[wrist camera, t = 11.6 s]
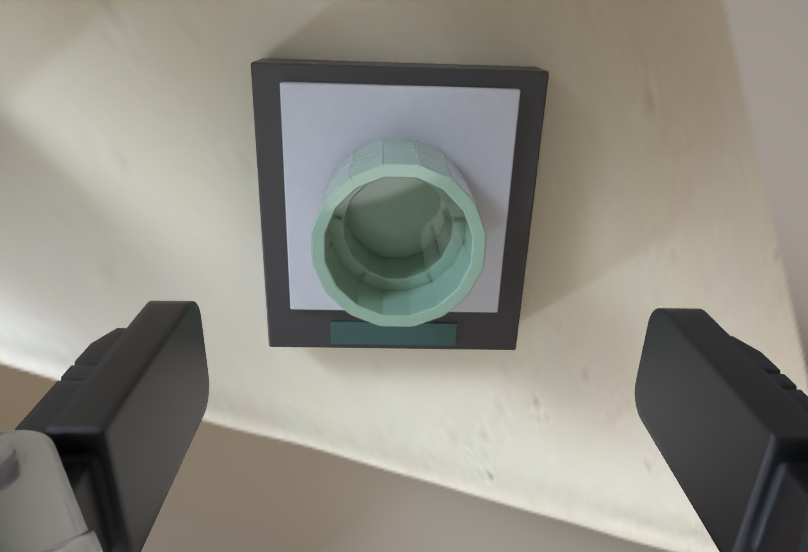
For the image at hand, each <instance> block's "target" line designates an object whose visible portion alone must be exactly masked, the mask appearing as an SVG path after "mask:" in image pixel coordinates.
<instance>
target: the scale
mask: <svg viewBox="0 0 808 552" xmlns="http://www.w3.org/2000/svg"><path fill="white" fill-rule="evenodd" d="M251 75H252V90H253V105H254V121H255V136H256V152H257V167H258V183H259V198H260V213H261V229H262V244H263V260H264V275H265V290H266V306H267V321H268V337H269V346H270V347H332V348H408V349H483V350H515V349H516V342H517V334H518V326H519V317H520V309H521V301H522V292H523V284H524V276H525V267H526V259H527V251H528V242H529V234H530V226H531V217H532V209H533V201H534V193H535V184H536V176H537V168H538V159H539V151H540V143H541V134H542V126H543V118H544V109H545V101H546V93H547V84H548V76H549V73H548V72H547V71H545V70H542V69H540V68H537V67H518V66H486V65H454V64H422V63H390V62H358V61H326V60H294V59H260V60H257V61H255V62H252V63H251ZM384 138H408V139H414V140H418V141H420V142H422V143H424V144H427V145H429V146H431V147H433V148H436V149H438V150H440V151H441V152H443V153H444V154H445V155H446V156H447V157H448V159H449V160H450V161H451V162H452V163H453V164H454V165H455V166H456V167H457V168H458V169H459V171H460V172H461V174H462V175H463V177H464V179H465V181H466V184H467V186H468V188H469V190H470V192H471V194H472V196H473V198H474V200H475V203H476V205H477V207H478V210H479V213H480V216H481V219H482V222H483V225H484V228H485V231H486V236H487V239H486V249H485V260H484V266H483V270H482V272H481V273H480V275H479V277H478V279H477V281H476V283H475V284H474V286H473V288H472V290H471V292H470V294H469V295H468V296H467V297H466V298H465V299H464V300H462V301H461V302H460V303H459V304H457V305H456V306H455V307H454V308H453V309H451V310H450V311H449V312H448V313H447V314H445V315H443V316H442V317H440V318H437V319H434V320H431V321H428V322H425V323H422V324H419V325H416V326H412V327H395V326H378V325H375V324H373V323H370V322H367V321H365V320H362V319H360V318H357V317H354V316H352V315H350V314H349V313H347V312H346V311H345V310H344V309H343V308H342V307H341V306H340V305H339V304H337V303H336V302H335V301H334V300H333V299H332V298H331V297H330V296H329V295H327V293H326V292H325V291H324V288H323V286H322V284H321V282H320V280H319V278H318V276H317V274H316V272H315V270H314V267H313V265H312V264H313V263H312V256H311V229H312V226H313V223H314V220H315V217H316V215H317V212H318V209H319V206H320V203H321V200H322V197H323V194H324V192H325V189H326V187H327V184H328V182H329V180H330V177H331V175H332V172H333V170H334V169H335V168H336V167H337V166H338V165H339V164H340V163H341V162H342V161H343V160H344V159H345V158H346V157H347V156H348V155H349V154H350V153H351V152H352V151H353V150H356V149H357V148H359V147H361V146H364V145H366V144H369V143H372V142H374V141H377V140H379V139H384Z"/></svg>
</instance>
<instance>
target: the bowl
mask: <svg viewBox="0 0 808 552" xmlns="http://www.w3.org/2000/svg"><path fill="white" fill-rule="evenodd" d="M486 239H487V236H486V231H485V228H484V225H483V222H482V219H481V216H480V213H479V210H478V207H477V205H476V203H475V200H474V198H473V196H472V194H471V192H470V190H469V188H468V186H467V184H466V181H465V179H464V177H463V175H462V174H461V172H460V171H459V169H458V168H457V167H456V166H455V165H454V164H453V163H452V162H451V161H450V160H449V159H448V157H447V156H446V155H445V154H444V153H443V152H441V151H440V150H438V149H436V148H433V147H431V146H429V145H427V144H424V143H422V142H420V141H418V140H414V139H408V138H384V139H379V140H377V141H374V142H372V143H369V144H366V145H364V146H361V147H359V148H357V149H356V150H353V151H352V152H351V153H350V154H349V155H348V156H347V157H346V158H345V159H344V160H343V161H342V162H341V163H340V164H339V165H338V166H337V167H336V168H335V169H334V170H333V172H332V175H331V177H330V180H329V182H328V184H327V187H326V189H325V192H324V194H323V197H322V200H321V203H320V206H319V209H318V212H317V215H316V217H315V220H314V223H313V226H312V229H311V256H312V263H313V264H312V265H313V267H314V270H315V272H316V274H317V276H318V278H319V280H320V282H321V284H322V286H323V288H324V291H325V292H326V293H327V295H329V296H330V297H331V298H332V299H333V300H334V301H335V302H336V303H337V304H339V305H340V306H341V307H342V308H343V309H344V310H345V311H346V312H347V313H349V314H350V315H352V316H354V317H357V318H360V319H362V320H365V321H367V322H370V323H373V324H375V325H378V326H395V327H412V326H416V325H419V324H422V323H425V322H428V321H431V320H434V319H437V318H440V317H442V316H443V315H445V314H447V313H448V312H449V311H450V310H451V309H453V308H454V307H455V306H456V305H457V304H459V303H460V302H461V301H462V300H464V299H465V298H466V297H467V296H468V295H469V294H470V292H471V290H472V288H473V286H474V284H475V283H476V281H477V279H478V277H479V275H480V273H481V272H482V270H483V266H484V260H485V249H486Z"/></svg>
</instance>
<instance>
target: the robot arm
mask: <svg viewBox="0 0 808 552" xmlns="http://www.w3.org/2000/svg"><path fill="white" fill-rule="evenodd" d="M208 395H209V375H208V368H207V360H206V352H205V344H204V337H203V329H202V321H201V314H200V310H199V307H198V305H197V303H196V302H194V301H150V302H148V303H147V304H146V305H145V307H144V308H143V309H142V310H141V311H140V313H139V314H138V315H137V316H136V317H135V319H134V320H133V321H132V322H131V324H130V325H129V326H128V327H127V328H117V329H115V330H113V331H111V332H110V333H108V334H106V335H105V336H103V337H101V338H100V339H98V340H96V341H94V342H93V343H91V344H90V345H89V346H88V348H87V349H86V350H85V351H84V352H83V353H82V354H81V355H80V357H79V358H78V359H77V360H76V361H75V365H72V366H71V367H70V368H69V369H68V370H67V371H66V372H65V373H64V375H63V376H62V377H61V381H57V382H56V384H55V385H54V386H53V387H52V388H51V389H50V390H49V391H48V393H47V394H46V395H45V396H44V397H43V398H42V399H41V400H40V402H39V403H38V404H37V405H36V406H35V407H34V408H33V410H32V411H31V412H30V413H29V414H28V415H27V416H26V417H25V418H24V420H23V421H22V422H21V423H20V424H19V425H18V426H17V428H16V429H15V430H11V431H3V432H0V552H141V550H142V548H143V546H144V544H145V541H146V539H147V537H148V535H149V533H150V531H151V528H152V526H153V524H154V522H155V519H156V517H157V515H158V513H159V511H160V509H161V507H162V504H163V502H164V500H165V498H166V496H167V494H168V491H169V489H170V487H171V485H172V483H173V481H174V478H175V476H176V474H177V472H178V470H179V467H180V465H181V463H182V461H183V459H184V457H185V454H186V452H187V450H188V448H189V446H190V444H191V442H192V439H193V437H194V435H195V433H196V431H197V429H198V426H199V424H200V422H201V420H202V418H203V415H204V413H205V410H206V407H207V402H208ZM635 401H636V407H637V411H638V414H639V417H640V418H641V420H642V422H643V424H644V425H645V427H646V429H647V430H648V432H649V434H650V435H651V437H652V439H653V441H654V442H655V444H656V446H657V447H658V449H659V451H660V452H661V454H662V456H663V457H664V459H665V461H666V462H667V464H668V466H669V467H670V469H671V471H672V472H673V474H674V476H675V477H676V479H677V481H678V483H679V484H680V486H681V488H682V489H683V491H684V493H685V494H686V496H687V498H688V499H689V501H690V503H691V504H692V506H693V508H694V509H695V511H696V513H697V514H698V516H699V518H700V519H701V521H702V523H703V524H704V526H705V528H706V530H707V531H708V533H709V535H710V536H711V538H712V540H713V541H714V543H715V545H716V546H717V548H718V550H719V551H720V552H808V396H807V395H806V394H805V393H804V392H802V391H801V390H797V389H796V385H795V384H794V383H793V382H792V381H791V380H790V379H789V378H788V377H787V376H786V375H785V374H780V370H779V369H778V368H777V367H776V366H775V365H774V364H773V363H772V362H771V361H770V360H769V359H768V358H767V357H766V356H765V355H763V354H762V353H761V352H760V351H758V350H756V349H754V348H753V347H751V346H749V345H747V344H745V343H744V342H742V341H740V340H738V339H737V338H735V337H733V336H730V335H729V334H728V333H727V332H726V331H725V330H723V329H722V328H721V327H720V326H719V325H718V324H717V323H716V322H715V321H714V320H713V319H712V318H711V317H710V316H709V315H708V314H707V313H706V312H705V311H704V310H702V309H680V308H658V309H656V310H654V311H653V313H652V314H651V316H650V319H649V322H648V327H647V331H646V336H645V341H644V346H643V350H642V355H641V360H640V364H639V369H638V374H637V379H636V384H635Z"/></svg>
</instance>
